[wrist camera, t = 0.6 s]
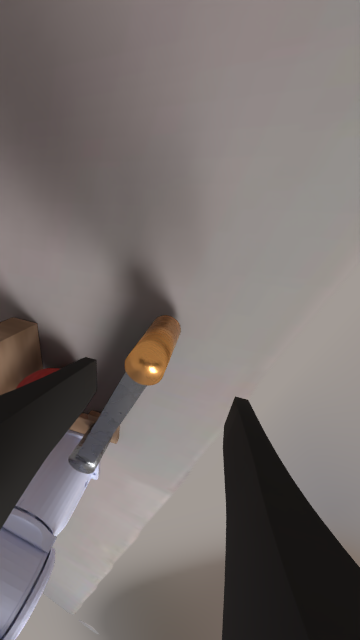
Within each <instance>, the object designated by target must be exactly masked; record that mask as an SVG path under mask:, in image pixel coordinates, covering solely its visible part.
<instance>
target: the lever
mask: <svg viewBox="0 0 360 640" xmlns="http://www.w3.org/2000/svg"><path fill="white" fill-rule="evenodd" d="M180 332H181V328H180V324H179V323H178V321H177V320H176V319H175V318H173V317H171V316H167V315H163V316H160V317H158V318H156V319H155V321H154V322H153V323H152V325H151V326H150V327H149V329H148V330H147V331H146V333H145V334H144V335H143V337H142V338H141V339H140V341H139V342H138V343H137V345H136V346H135V347H134V348H133V350H132V351H131V352H130V354H129V355H128V356H127V358H126V360H125V370H126V372H125V374H124V376H123V377H122V379H121V381H120V382H119V384H118V386H117V387H116V389H115V391H114V392H113V394H112V396H111V398H110V399H109V401H108V403H107V404H106V406H105V408H104V409H103V411H102V413H101V414H100V416H99V418H98V420H97V421H96V423H93V424H91V425H90V427H89V428H88V430H87V431H86V433H85V434H84V436H83V437H82V439H81V440H80V442H79V443H78V445H77V446H76V447H75V449H74V450H73V452H72V453H71V455H70V456H69V458H68V461H69V464H70V465H71V466H72V467H73V468H74V469H75V470H77V471H79V472H81V473H85V474H91V473H93V472H94V471H95V469H96V467H97V465H98V463H99V462H100V460H101V458H102V456H103V454H104V452H105V450H106V448H107V446H108V445H109V443H110V441H111V439H112V437H113V434H114V432H115V431H116V430H117V428H118V427H119V425H120V424H121V422H122V421H123V419H124V418H125V416H126V415H127V414H128V412H129V411H130V409H131V408H132V406H133V405H134V403H135V402H136V401H137V399H138V398H139V396H140V395H141V393H142V392H143V390H144V389H145V387H146V386H147V385H154V384H156V383H158V382H159V381H160V380H161V379H162V377H163V375H164V372H165V370H166V367H167V365H168V362H169V360H170V357H171V355H172V352H173V350H174V348H175V345H176V343H177V340H178V338H179V335H180Z"/></svg>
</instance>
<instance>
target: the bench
mask: <svg viewBox="0 0 360 640" xmlns="http://www.w3.org/2000/svg"><path fill="white" fill-rule="evenodd" d="M41 369H43V365H42V358H41V350H40V342H39V335H38V327H37V323H33V322H29V321H25V320H21V319H18V318H14V317H12V318H10V319H7V320H5V321H2V322H0V395H2V394H4V393H7V392H10V391H12V390H15V389H16V387H17V386H18V384H19V383H20V382H21V381H22V380H23V379H24V378H25V377H27V376H29V375H30V374H32V373H34V372H36V371H38V370H41ZM100 414H101V413H99V412H96V411H92V410H91V411H90V413H89V414H85V413H81V415H80V416H79V417H78V418H77V420H76V421H75V422H74V423H73V425H72V426H71V427H70V430H73V431H77V432H80V433H83V434H85V433H86V431H87V430H88V428H89V427H90V425H91V424H93V423H96V421H97V420H98V418H99V416H100ZM119 428H120V425H119V427H118V428H117V430H116V431H115V432H114V434H113V437H112V439H111V441H110V442H112V443H115V444H116V443H117V441H118V439H119Z"/></svg>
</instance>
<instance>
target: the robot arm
mask: <svg viewBox="0 0 360 640" xmlns="http://www.w3.org/2000/svg"><path fill="white" fill-rule="evenodd" d="M96 390H97V367H96V360H95V359H91V358H87V357H85V358H83V359H80V360H78V361H76V362H74V363H72V364H70V365H68V366H66V367H64V368H61V369H59V370H57V371H55V372H53V373H51V374H49V375H47V376H45V377H42V378H40V379H38V380H36V381H33V382H31V383H29V384H26V385H24V386H22V387H19V388H17V389H15V390H12V391H10V392H7V393H4V394H2V395H0V640H15V639H16V638H17V637H18V635H19V634H20V632H21V630H22V629H23V627H24V626H25V624H26V622H27V621H28V619H29V617H30V615H31V614H32V612H33V610H34V608H35V606H36V604H37V603H38V601H39V599H40V597H41V595H42V593H43V591H44V589H45V586H46V584H47V582H48V580H49V577H50V575H51V572H52V570H53V567H54V563H55V549H54V548H52V546H53V544H54V542H55V540H56V538H57V537H56V536H57V535H58V534H59V533H60V532H61V531H62V530H63V529H64V527H65V526H66V524H67V523H68V521H69V519H70V517H71V515H72V513H73V512H74V510H75V508H76V506H77V504H78V502H79V500H80V498H81V496H82V495H83V493H84V491H85V489H86V487H87V485H88V483H89V481H90V479H94V480H97V479H98V477H99V463H98V465H97V467H96V469H95V471H94V472H93V473H91V474H85V473H81V472H79V471H77V470H75V469H74V468H73V467H72V466H71V465H70V464H69V461H68V458H69V456H70V455H71V453H72V452H73V450H74V449H75V447H76V446H77V445H78V443H79V442H80V440H81V439H82V437H83V436H84V434H81V433H78V432H75V431H71V430H69V429H70V427H71V426H72V425H73V423H74V422H75V421H76V420H77V418H78V417H79V416H80V415H81V413H82V412H83V411H84V409H85V408H86V407H87V405H88V403H89V402H90V400H91V399H92V397H93V395H94V393H95V392H96ZM223 456H224V475H225V493H226V560H225V587H224V610H223V630H222V640H360V567H359V566H358V565H357V564H356V563H355V561H354V560H353V559H352V558H351V556H350V555H349V554H348V553H347V551H346V550H345V549H344V548H343V547H342V545H341V544H340V543H339V541H338V540H337V539H336V538H335V536H334V535H333V534H332V532H331V531H330V530H329V529H328V527H327V526H326V525H325V524H324V522H323V521H322V520H321V518H320V517H319V516H318V514H317V513H316V512H315V511H314V509H313V508H312V506H311V505H310V504H309V502H308V501H307V499H306V498H305V497H304V495H303V494H302V492H301V491H300V489H299V488H298V487H297V485H296V484H295V482H294V480H293V479H292V478H291V476H290V475H289V473H288V471H287V470H286V468H285V466H284V465H283V463H282V461H281V460H280V458H279V457H278V455H277V453H276V452H275V450H274V448H273V446H272V444H271V443H270V441H269V439H268V437H267V436H266V434H265V432H264V430H263V428H262V426H261V424H260V422H259V421H258V419H257V417H256V415H255V413H254V411H253V409H252V407H251V405H250V403H249V401H248V400H246V399H242V398H238V397H235V398H234V401H233V404H232V406H231V409H230V412H229V414H228V417H227V420H226V422H225V425H224V438H223Z"/></svg>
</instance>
